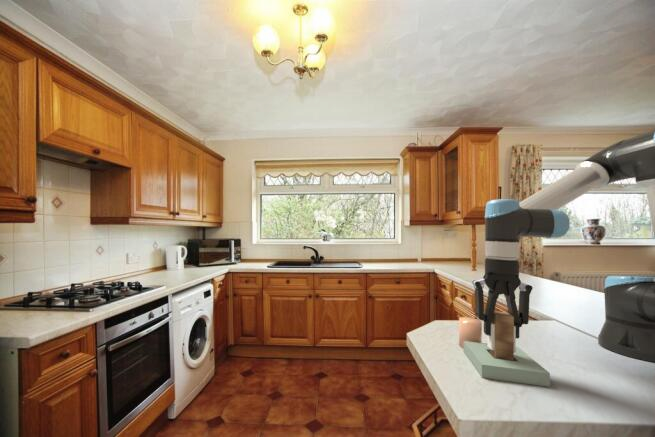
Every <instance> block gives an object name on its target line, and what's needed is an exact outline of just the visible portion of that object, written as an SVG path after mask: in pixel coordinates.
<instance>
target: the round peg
mask: <svg viewBox="0 0 655 437" xmlns="http://www.w3.org/2000/svg"><path fill="white" fill-rule="evenodd" d="M458 322H459V323H458V325H459V327H458V346H459V347H460V348H461V349H462V350H464V341H468V342H477V343H483V342H482V341H483V338H482V336H483V332H482V330H483V327H482V326H483V323H482V322H483V321H482V320H480V319H479V318H474V317H468V316H461V317H459V319H458Z"/></svg>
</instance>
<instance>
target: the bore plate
mask: <svg viewBox="0 0 655 437" xmlns="http://www.w3.org/2000/svg"><path fill="white" fill-rule="evenodd" d="M463 353H464V355H465V356H466V358H468V361H469V362H470V363H471V364H472V366H473V367H474V369H475V370H476V372H477V373H478V374H479V375H480V377H481V378H483V379H490V380H496V381H503V382H504V381H505V382H512V383H518V384H527V385H535V386H542V387H549V388H550V387H551V382H550V381H551V378H550V377H551V373H550V372H549V371H548V370H547V369H545V368H544V367H543V366H542V365H541V364H540V363H538V362H537V361H536V360H535V359H534V358H532V357H531V356H529V355H528V354H527V353H526V352H525V351H524V350H522V349H521V348H520V347H518V346H516V353H514V361H510V360H502V359H494V358H493V357H492V356H491V354H490V353H489V347H488V346H487V343H483V342H482V343H477V342H468V341H464V349H463Z"/></svg>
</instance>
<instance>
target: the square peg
mask: <svg viewBox="0 0 655 437" xmlns="http://www.w3.org/2000/svg"><path fill="white" fill-rule="evenodd" d="M492 323H494V324H495V350H491V349H490V348H489V353H490V354H491V356H492V357H493V358H494V359H502V360H510V361H514V317H513V316H512V315H510V314H509V312H506V311H497V310H494V314H493V319H492Z"/></svg>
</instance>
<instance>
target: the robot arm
mask: <svg viewBox="0 0 655 437" xmlns="http://www.w3.org/2000/svg"><path fill="white" fill-rule="evenodd" d="M634 178H635V184H637V185H640V186H641V187H644V189H645V192H646V197H647V198H646V199H647V203H648V209H649V214H650V220H651V225H652V231H653V236H654V238H655V130H651V131H649V132H645V133H643V134H640V135H639V134H638V135H637V136H633V137H630V138H627V139H622V140H620V141H618V142H615V143H612V144H611V145H608V146H606V147H605V148H603V149H601V150H600V151H598V152H596V153H595V154H593V155H591V156H590V157H588V158H586V159H585V160H583V161H581V162H579V163H578V164H577V165H575V167H574V169H573V171H571V172H569V173H567V174H566V175H564V176H562V177H561V178H559V179H557V180H556V181H554V182H552V183H550V184H548V185H547V186H546V187H544V188H542V189H540V190H538V191H537V192H535V193H534V194H531V195H530V196H528V197H527V198H525V199H523V200H521V201H520V202H519V200H517V199H513V198H500V199H499V198H498V199H491V200H488V201H487V202H486V205H485V210H484V213H485V214H484V221H485V223H484V230H485V231H484V236H485V237H484V238H485V239H484V240H485V241H484V255H485V256H486V258H485V259H484V275H483V277H482V278H481V279H478V280H477V279H476V280H475V279H474V280H472V282H471V283H472V285H473V287H474V295H475V297H474V298H475V299H474V300H475V316H476V318H477V319H478V320H480V321H482V322H483V332H484V335H486V336H487V337H486V339H487V340H486V341H487V343H486V344H487V346H488V347H489V348H490V349H491V350H495V324H494V323H492V319H493V314H494V311H496V306H497V300H498V298H499V297H500V295H503V296H504V298H505V302H506V306H507V310H508V313H509V314H510V315H512V316H513V317H514V353H516V347H517V346H516V345H517V344H516V343H517V341H516V340H517V339H520V328H522V327H523V325H528V324H529V318H530V317H529V316H530V298H531V296H530V295H531V293H532V291H533V286H532V285H530V284H527V283H524V282H522V280H521V278H520V261H519V260H518V259H519V258H520V238H523V237H524V238H546V239H551V238H554V239H557V238H561V237H564V236H565V235H566V234H567V233H568V232H569V229H570V227H571V225H570V218H569V216H568V214H566V212H565V211H562V210H559V209H561V208H562V207H564V206H566V205H568V204H569V203H571V202H572V201H574V200H576V199H578V198H579V197H582V196H583V195H585V194H587V193H589V192H590V191H592V190H593V189H594V190H595V189H596V190H597V189H601V188H604V187H606V186H607V185H609V184H611V183H615V182H619V181H623V180H629V179H634ZM485 285H486V287H487V288H488V291H487V294H488V295H487V299H486V304H485V303H484V301H485V300H484V297H485V296H484V288H485ZM517 289H518V290H519V292H518V293H519V294H518V295H519V296H518V298H519V299H518V307H517V303H516V302H517V301H516V293H515V292H516V290H517ZM603 289H604V293H603V294H604V312H605V316H604V317H605V322H604V323H603V325H602V327H601V330H600V332H599V334H598V336H597V343H598V345H600V346H601V347H602V348H604V349H606V350H608V351H611V352H614V353H616V354H620V355H623V356H625V357H630V358H634V359H637V360H643V361H647V362H651V363H652V362H653V363H655V276H632V275H631V276H630V275H627V276H626V275H608V276H607V277H606V278H605V280H604V286H603ZM484 304H485V305H484Z"/></svg>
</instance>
